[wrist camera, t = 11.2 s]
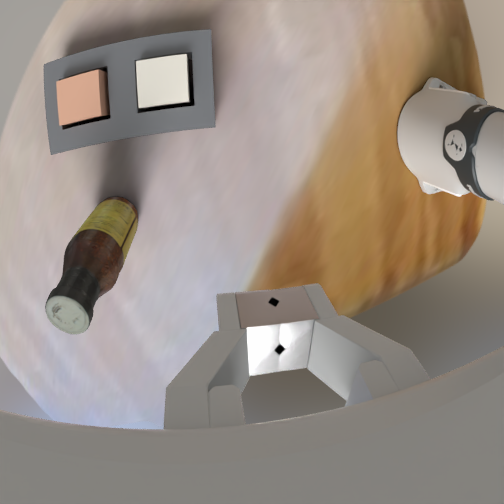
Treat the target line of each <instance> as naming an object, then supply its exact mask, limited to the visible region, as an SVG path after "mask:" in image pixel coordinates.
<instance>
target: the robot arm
mask: <svg viewBox="0 0 504 504" xmlns="http://www.w3.org/2000/svg"><path fill="white" fill-rule="evenodd" d="M439 87H440V88H439ZM398 145H399V150H400V153H401V156H402V159H403V161H404V163H405V164H406V166H407V167H408V169H409V170H410V171H411V172H412V173H413V174H414V175H415V176H416V177H417V179H418V181H419V184H420V186H421V189H422V190H423V192H425V193H428V194H432V193H436V192H440V191H445V192H448V193H450V194H453V195H455V196H459V197H460V196H461V195H464V194H467V193H470V192H472V193H473V194H475V195H476V196H478V197H481V198H484V199H487V200H496V201H498V202H500V203H502V204H504V110H502V109H500V108H496V107H494V106H490V105H487V101H486V100H484V99H482V98H479V97H476V95H474V94H471V93H468V92H464V91H458V90H456V89H455V88H453V87H452V86H450V85H448V84H447V83H445V82H443V81H441V80H440V79H438V78H433V77H431V78H429V79H428V80H427V82H426V84H425V85H424V87H423V89H422V90H421V91H419V92H418V93H416V94H415V95H413V96H412V97H411V98H410V99H409V100H408V101H407V103H406V104H405V106H404V108H403V110H402V112H401V115H400V118H399V123H398ZM217 310H218V323H219V331H215V332H213V333H212V334H211V336H210V337H209V338H208V339H207V340H206V342H205V343H204V344H203V345H202V346H201V348H200V349H199V350H198V351H197V352H196V353H195V355H194V356H193V357H192V358H191V359H190V360H189V362H188V363H187V364H186V365H185V366H184V368H183V369H182V370H181V371H180V372H179V373H178V375H177V376H176V377H175V378H174V379H173V380H172V382H171V383H170V384H169V385H168V386H167V387H166V399H165V415H164V429H163V430H161V429H156V430H155V429H123V428H108V427H97V426H87V425H78V424H71V423H63V422H57V421H51V420H45V419H39V418H34V417H29V416H25V415H20V414H16V413H12V412H7V411H3V410H0V504H504V346H503V347H501V348H499V349H497V350H495V351H493V352H491V353H489V354H487V355H485V356H483V357H481V358H479V359H477V360H475V361H473V362H471V363H469V364H467V365H464V366H462V367H460V368H458V369H455V370H453V371H450V372H448V373H446V374H443V375H441V376H439V377H436V378H434V379H430V377H429V376H428V374H427V373H426V371H425V370H424V368H423V367H422V365H421V364H420V362H419V361H418V359H417V358H416V357H415V355H414V354H413V353H412V351H411V349H409V348H407V347H405V346H403V345H401V344H399V343H397V342H395V341H393V340H391V339H389V338H387V337H385V336H383V335H381V334H379V333H377V332H375V331H373V330H371V329H369V328H367V327H365V326H363V325H361V324H359V323H357V322H355V321H353V320H351V319H349V318H347V317H345V316H344V315H342V316H338V314H337V312H336V311H335V309H334V307H333V306H332V304H331V302H330V301H329V299H328V297H327V295H326V294H325V292H324V290H323V289H322V287H321V285H320V284H318V283H316V284H310V285H303V286H299V287H291V288H283V289H275V290H260V291H248V292H235V293H223V294H217ZM301 368H308V369H309V370H310V371H311V372H312V373H313V374H314V375H316V376H317V377H318V378H319V379H320V380H322V381H323V382H324V383H325V384H327V385H328V386H329V387H330V388H331V389H333V390H334V391H335V392H336V393H338V394H339V395H340V396H341V397H343V398H344V399H345V400H346V401H347V402H346V404H345V407H342V408H338V409H334V410H329V411H325V412H320V413H315V414H311V415H306V416H300V417H296V418H289V419H284V420H277V421H270V422H264V423H256V424H247V425H246V423H245V417H244V411H243V406H242V400H241V393H242V391H243V389H244V387H245V385H246V383H247V381H248V379H249V376H252V375H259V374H265V373H272V372H277V371H286V370H293V369H301Z"/></svg>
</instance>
